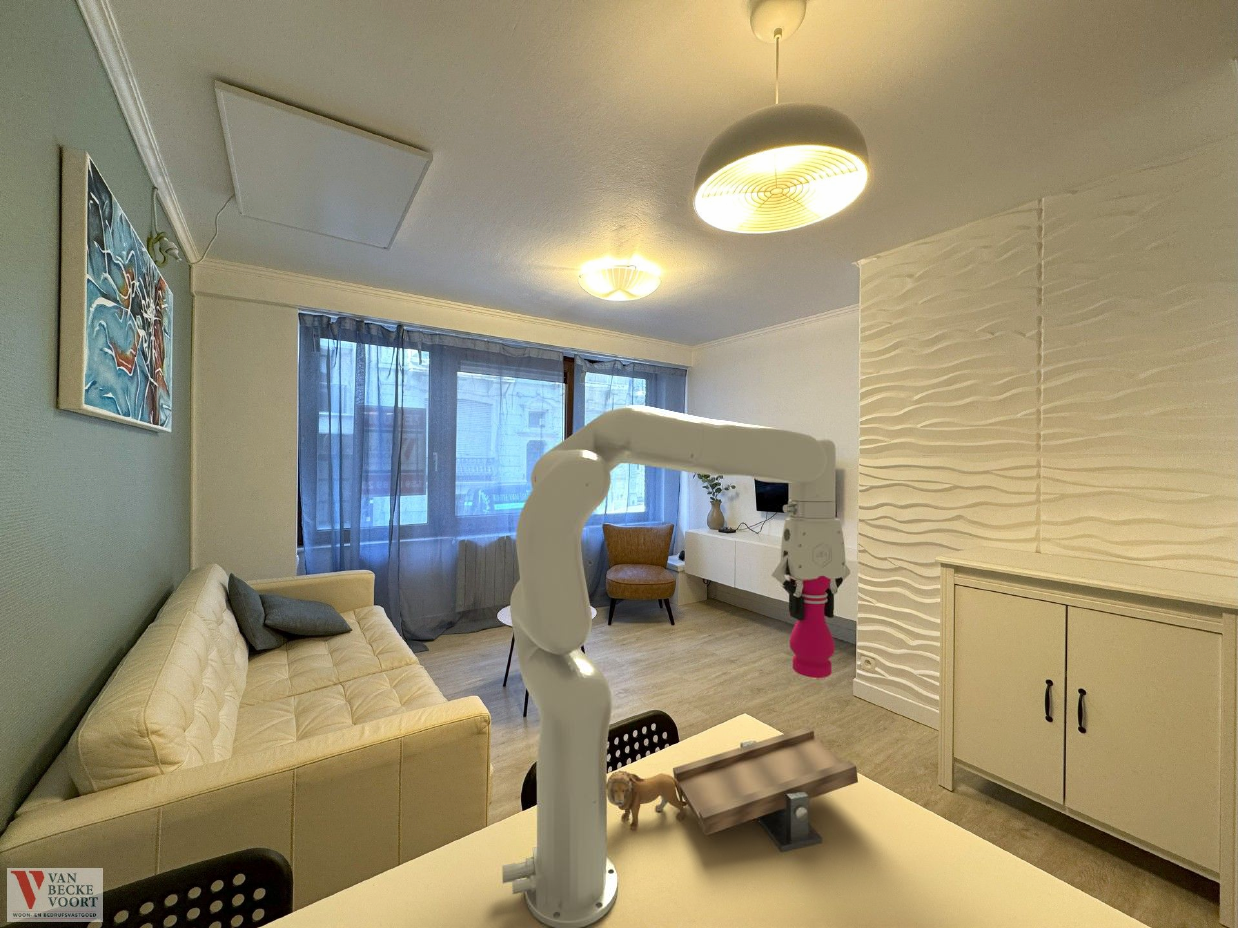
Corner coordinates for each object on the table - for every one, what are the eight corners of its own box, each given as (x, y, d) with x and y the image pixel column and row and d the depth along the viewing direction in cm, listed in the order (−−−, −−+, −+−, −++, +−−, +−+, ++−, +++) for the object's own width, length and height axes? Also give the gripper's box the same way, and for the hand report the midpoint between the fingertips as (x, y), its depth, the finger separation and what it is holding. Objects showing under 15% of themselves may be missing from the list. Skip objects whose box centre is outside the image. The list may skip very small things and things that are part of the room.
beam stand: (781, 851, 76) (781, 803, 76) (728, 781, 92) (728, 742, 92) (821, 842, 78) (822, 795, 78) (763, 775, 94) (763, 737, 94)
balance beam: (705, 835, 75) (703, 817, 75) (674, 783, 87) (672, 767, 87) (858, 782, 82) (856, 765, 82) (809, 740, 94) (808, 726, 94)
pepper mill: (839, 681, 83) (838, 558, 82) (792, 677, 84) (792, 557, 84) (829, 663, 90) (829, 551, 90) (787, 660, 91) (787, 549, 91)
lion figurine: (614, 844, 77) (614, 786, 77) (600, 822, 82) (600, 766, 82) (695, 816, 84) (695, 761, 84) (677, 796, 88) (678, 745, 88)
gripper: (779, 514, 81) (779, 628, 81) (869, 511, 85) (869, 619, 85) (755, 510, 88) (755, 614, 88) (839, 507, 93) (839, 606, 93)
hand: (811, 615), depth 87 cm, fingers closed on pepper mill, 5 cm apart
